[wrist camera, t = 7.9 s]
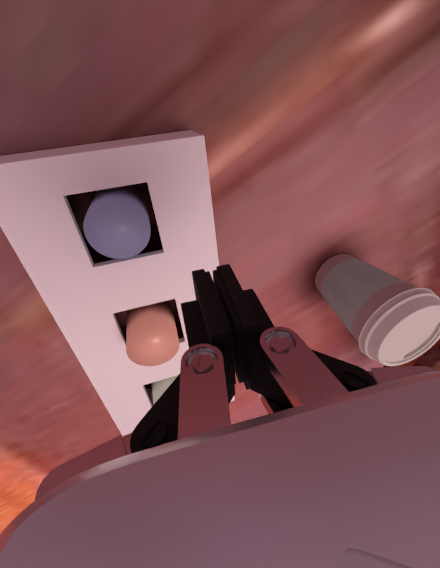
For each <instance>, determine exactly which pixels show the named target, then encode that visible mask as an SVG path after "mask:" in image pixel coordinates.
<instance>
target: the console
mask: <svg viewBox="0 0 440 568" xmlns="http://www.w3.org/2000/svg"><path fill="white" fill-rule="evenodd" d="M145 182H147V184H148V188H149V192H150V196H151V200H152V205H153V209H154V213H155V217H156V221H157V226H158V230H159V234H160V238H161V242H162V246H163V250H158V251H153V252H148V253H144V254H139V255H135V256H133V257H130V258H125V259H115V260H110V261H105V262H100V263H96V264H94V263H93V261H92V258H91V256H90V253H89V251H88V248H87V246H86V244H85V241H84V239H83V236H82V234H81V231H80V229H79V227H78V224H77V222H76V219H75V217H74V215H73V212H72V210H71V207H70V205H69V202H68V200H67V198H66V195H72V194H78V193H85V192H91V191H97V190H103V189H109V188H115V187H121V186H127V185H133V184H139V183H145ZM0 227H1V228H2V230H3V232H4V234H5V235H6V237H7V239H8V240H9V242H10V244H11V245H12V247H13V249H14V251H15V252H16V254H17V256H18V257H19V259H20V261H21V263H22V264H23V266H24V268H25V269H26V271H27V273H28V275H29V276H30V278H31V280H32V281H33V283H34V285H35V287H36V288H37V290H38V292H39V293H40V295H41V297H42V299H43V300H44V302H45V304H46V305H47V307H48V309H49V311H50V312H51V314H52V316H53V317H54V319H55V321H56V323H57V324H58V326H59V328H60V329H61V331H62V333H63V335H64V336H65V338H66V340H67V341H68V343H69V345H70V347H71V348H72V350H73V352H74V353H75V355H76V357H77V358H78V360H79V362H80V364H81V365H82V367H83V369H84V370H85V372H86V374H87V376H88V377H89V379H90V381H91V382H92V384H93V386H94V388H95V389H96V391H97V393H98V394H99V396H100V398H101V400H102V401H103V403H104V405H105V406H106V408H107V410H108V412H109V413H110V415H111V417H112V418H113V420H114V422H115V424H116V425H117V427H118V429H119V430H120V432H121V434H122V436H123V435H126V434H129V433H132V432H133V430H134V429H135V427H136V426H137V424H138V423H139V422H140V421H141V419H142V418H143V417H144V416H145V415H146V413H147V412H148V411H149V410H150V409H151V407H152V406H153V405H154V404H153V395H152V388H150V389H145V387H144V385H146V384H149V383H153V382H156V381H160V380H163V379H167V378H170V377H174V376H177V375H179V374H180V368H181V359H182V356H183V354H184V353H185V352H186V351H187V350H188V349H189V346H188V340H187V335H186V330H185V325H184V319H183V314H182V309H181V303H184V302H189V301H194V300H196V297H195V290H194V284H193V278H192V271H195V270H200V269H204V270H205V272H207V271H209V272H210V274H211V277H212V279H213V270H217V266H219V261H218V252H217V243H216V234H215V226H214V217H213V208H212V199H211V191H210V182H209V173H208V164H207V156H206V147H205V138H204V135H202V134H199V133H197V132H194V131H192V130H187V131H180V132H172V133H165V134H158V135H150V136H143V137H136V138H128V139H121V140H114V141H106V142H99V143H92V144H84V145H77V146H70V147H62V148H55V149H48V150H40V151H33V152H26V153H18V154H11V155H4V156H0ZM213 282H214V281H213ZM171 299H175V301H176V305H177V309H178V313H179V318H180V322H181V326H182V330H183V334H184V338H180V339H179V350H178V352H177V353H176V355H175V356H174V357H173V358H172V359H171V360H169V361H168V362H166V363H163V364H161V365H157V366H142V365H138V364H136V363H134V362H133V361H131V360H130V359H129V357H128V356H127V353H126V340H125V338H124V336H123V333H122V331H121V328H120V326H119V324H118V321H117V319H116V316H115V314H114V313H117V312H122V311H126V310H130V309H134V308H138V307H142V306H147V305H151V304H155V303H159V302H163V301H167V300H171ZM231 401H234V396H233V398H232V400H231ZM231 401H230V402H231Z"/></svg>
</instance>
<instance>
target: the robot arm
mask: <svg viewBox="0 0 440 568" xmlns="http://www.w3.org/2000/svg"><path fill="white" fill-rule="evenodd" d="M192 278H193V284H194V290H195V297H196V300H194V301H189V302H184V303H181V309H182V314H183V319H184V325H185V330H186V335H187V340H188V346H189V349H188V350H187V351H186V352H185V353H184V354H183V356H182V359H181V368H180V374H179V375H178V376H177V377H176V379H175V380H174V381H173V382H172V383H171V385H170V386H169V387H168V388H167V389H166V391H165V392H164V393H163V394H162V395H161V397H160V398H159V399H158V400H157V401H156V403H155V404H154V405H153V406H152V407H151V409H150V410H149V411H148V412H147V413H146V415H145V416H144V417H143V418H142V419H141V421H140V422H139V423H138V424H137V426H136V427H135V429H134V430H133V432H132V433H130V434H128V435H126V436H124V437H123V436H122V435H119V436H117V437H115V438H113V439H111V440H109V441H107V442H105V443H103V444H101V445H99V446H97V447H95V448H93V449H91V450H89V451H87V452H85V453H83V454H81V455H79V456H77V457H75V458H73V459H71V460H69V461H67V462H65V463H63V464H61V465H59V466H58V467H56V468H55V469H53V470H52V471H50V473H49V474H48V475H47V476H46V477H45V478H44V479H43V481H42V482H41V484H40V486H39V488H38V490H37V493H36V498H35V501H34V502H33V503H31V504H30V505H29V506H28V507H27V508H26V509H24V510H23V511H22V512H21V513H20V514H19V515H18V516H16V517H15V518H14V519H13V520H12V521H11V522H10V523H9V524H8V525H7V527H6V528H5V529H4V530H3V531H2V533H1V534H0V568H440V371H439V370H436V369H434V368H431V367H425V366H411V367H383V368H370V370H369V371H365V370H364V369H362V368H360V367H358V366H355V365H352V364H350V363H347V362H344V361H341V360H339V359H336V358H333V357H330V356H328V355H325V354H322V353H319V352H317V351H314V350H311V349H310V348H309V347H308V346H307V345H306V343H305V342H304V341H303V340H302V339H301V338H300V337H299V336H298V335H297V334H296V333H295V332H294V331H292V330H290V329H288V328H285V327H274V325H273V324H272V322H271V320H270V318H269V317H268V315H267V313H266V311H265V310H264V308H263V306H262V304H261V303H260V301H259V299H258V297H257V296H256V294H255V292H254V291H253V289H248V290H242V288H241V286H240V284H239V282H238V280H237V278H236V276H235V274H234V272H233V271H232V269H231V267H230V265H229V264H227V265H221V266H217V270H213V279H212V277H211V274H210V272H209V271H207V272H205V270H204V269H200V270H195V271H192ZM213 281H214V282H213ZM235 372H236V375H237V378H238V381H239V383H241V382H244V384H245V387H246V390H247V389H251V390H253V391H255V392H257V393H259V397H260V399H261V401H262V403H263V405H264V407H265V408H266V410H267V412H268V413H269V414H268V415H265V416H261V417H258V418H254V419H250V420H247V421H243V422H240V423H236V424H233V425H231V421H230V413H229V403H230V401H231V400H232V398H233V396H234V395H235V386H234V384H236V380H235Z"/></svg>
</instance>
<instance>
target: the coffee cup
mask: <svg viewBox="0 0 440 568" xmlns="http://www.w3.org/2000/svg"><path fill="white" fill-rule="evenodd" d="M315 286H316V288H317V289H318V291H319V292H320V293H321V295H322V296H323V297H324V299H325V300H326V301H327V303H328V304H329V305H330V307H331V308H332V309H333V310H334V312H335V313H336V314H337V316H338V317H339V318H340V320H341V321H342V322H343V324H344V325H345V326H346V327H347V329H348V330H349V331H350V333H351V334H352V335H353V337H354V338H355V339H356V340H357V342H358V343H359V348H360V350H361V351H362V352H363V353H364V354H365V355H367V356H368V357H369V358H371V359H373V360H376V361H378V362H380V363H381V364H383V365H385V366H398V365H402V364H405V363H407V362H410V361H412V360H414V359H415V358H417V357H419V356H420V355H422V354H423V353H425V352H426V351H427V350H428V349H430V348H431V347H432V346H433V345H434V344H435V343H436V342H437V341H438V340H439V339H440V298H439V297H438V296H437V295H435V293H434V292H433V291H431V290H429V289H426V288H418V287H416V286H414V285H412V284H410V283H407V282H405V281H403V280H401V279H399V278H397V277H395V276H393V275H391V274H389V273H387V272H385V271H383V270H380V269H378V268H376V267H374V266H372V265H370V264H368V263H366V262H364V261H362V260H360V259H357V258H355V257H353V256H351V255H349V254H338V255H335V256H333V257H331V258H329V259H328V260H326V261H325V262H324V263H323V264H322V265H321V267H320V268H319V270H318V271H317V274H316V277H315Z"/></svg>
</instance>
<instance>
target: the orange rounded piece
mask: <svg viewBox="0 0 440 568" xmlns="http://www.w3.org/2000/svg"><path fill="white" fill-rule="evenodd" d="M178 350H179V339H178V334H177V329H176V324H175V320H174V315H173V310H172V306H171V304H170V302H169V301H168V300H167V301H163V302H159V303H155V304H151V305H147V306H142V307H138V308H134V309H130V310H127V326H126V353H127V356H128V357H129V359H130V360H131V361H133V362H134V363H136V364H138V365H142V366H157V365H161V364H163V363H166V362H168V361H169V360H171V359H172V358H173V357H174V356H175V355H176V353H177V352H178Z"/></svg>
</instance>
